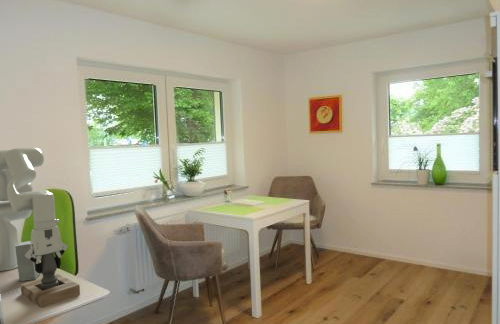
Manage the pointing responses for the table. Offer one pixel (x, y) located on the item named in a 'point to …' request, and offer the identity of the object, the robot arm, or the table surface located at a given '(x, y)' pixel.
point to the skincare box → (25, 262)
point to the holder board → (50, 291)
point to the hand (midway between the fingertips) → (48, 269)
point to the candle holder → (48, 267)
